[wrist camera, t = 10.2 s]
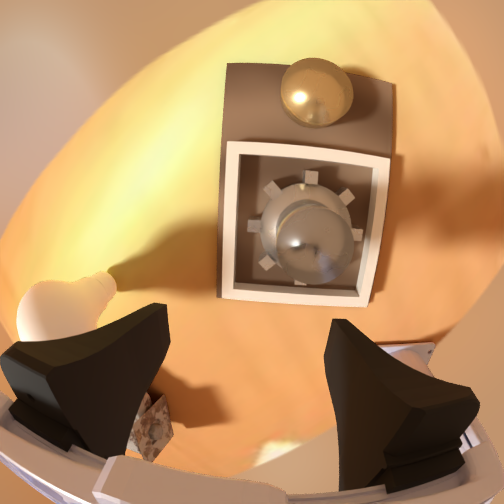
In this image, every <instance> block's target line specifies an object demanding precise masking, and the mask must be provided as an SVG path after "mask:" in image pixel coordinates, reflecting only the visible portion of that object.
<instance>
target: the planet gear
mask: <svg viewBox="0 0 504 504" xmlns="http://www.w3.org/2000/svg"><path fill="white" fill-rule="evenodd" d="M317 183H318V172H317V171H307V170H303V179H302V182H301V183H294V184H291V185H288V186H286V187H284V188H282V189H280V188H279V187H278V185H277V184H276V183H275V182H274V181H273V180H272V181H271V182H270V183H269V184H267V185H266V186H265V187H264V188H263V190H264V191H265V192H266V193H267V194H268V195H269V197H270V200H269V201H268V203H267V204H266V206H265V208H264V211H263V214H262V217H259V216H250V217H249V219H248V227H247V232H254V233H260V235H261V241H262V244H263V247H264V249H265V251H264V252H263V253H262V254H261V255H259V261H258V263H259V264H260V265H261V266H262V267H263V268H264V269H265V270H266V271H267V270H268V269H269V268H271V267H272V266H273V265H274V264H277V265H278V266H280V267H281V268H283V269H284V271H285V272H286V273H287V274H288V275H289V276H290V277H292V278H293V279H294V284H295V285H306V284H323V283H326V282H329V281H331V280H333V279H335V278H336V277H338V276H339V275H340V274H341V273H343V271H344V270H345V269H346V268H347V266H348V265H349V263H350V261H351V259H352V256H353V252H354V241H361V240H362V234H363V229H362V228H360V227H359V226H357V225H352V224H351V219H350V215H349V212H348V210H347V207H346V205H347V204H349V203H350V202H351V201H352V200H353V199H355V197H354V196H353V194H352V193H351V192H350V190H349V189H348V188H345V187H341V188H340V189H339V190H338V191H336V192H335V193H334V192H332V191H331V190H329V189H327V188H325V187H323V186H320V185H317Z"/></svg>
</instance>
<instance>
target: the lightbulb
mask: <svg viewBox="0 0 504 504" xmlns="http://www.w3.org/2000/svg"><path fill="white" fill-rule="evenodd" d="M116 291H117V285H116V282H115V280H114V278H113V277H112V276H111V275H110V274H109V273H107V272H104V271H100V272H98V273H96V274H94V275H92V276H90V277H84V278H82V279H80V280H78V281H75V282H65V281H58V280H47V281H42V282H39V283H37V284H35V285H34V286H32V287H31V288H30V289H29V290H28V291H27V292H26V293H25V294H24V296H23V298H22V299H21V301H20V304H19V307H18V311H17V321H16V322H17V329H18V334H19V337H20V340H21V341H46V340H54V339H61V338H66V337H70V336H75V335H79V334H83V333H86V332H89V331H92V330H95V329H97V321H98V318H99V316H100V315H101V313H102V312H103V311H104V310H105V308H106V307H107V304H108V302H109V301H110V300H111V299H112V298H113V296H114V295H115V294H116Z"/></svg>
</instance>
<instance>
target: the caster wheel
mask: <svg viewBox="0 0 504 504" xmlns="http://www.w3.org/2000/svg"><path fill="white" fill-rule="evenodd" d="M173 435H174V434H173V429H172V425H171V421H170V416H169V411H168V406H167V402H166V397H165V395H163V396H162V397H161V398H160V399H159V400H158V401H157V402H156V403H155V404H154V405H152V402H151V399H150V396H149V395H148V393H147V392H146V394H145V396H144V398H143V400H142V402H141V405H140V407H139V410H138V413H137V415H136V418H135V421H134V424H133V427H132V430H131V433H130V437H129V440H128V444H127V449H130V450H132V451H134V452H137V453H139V454H142V457H143V459H144V460H145V461H149V462H153V461H154V459H155V458H156V457H157V456H158V455H159V453H160V452H161V451H162V450H163V448H164V447H165V446H166V445H167V443H168V442H169V441H170V440H171V438H172V437H173Z"/></svg>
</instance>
